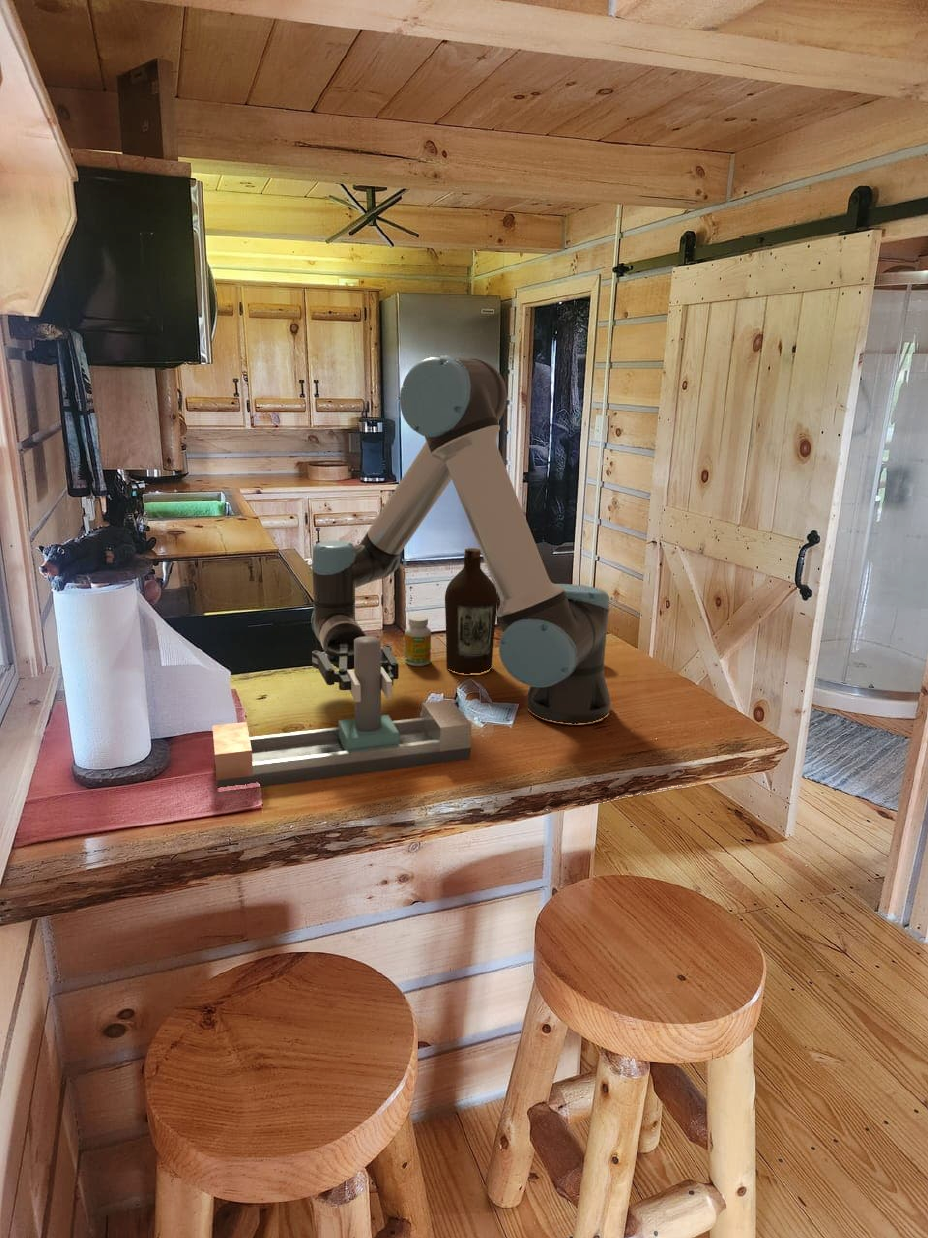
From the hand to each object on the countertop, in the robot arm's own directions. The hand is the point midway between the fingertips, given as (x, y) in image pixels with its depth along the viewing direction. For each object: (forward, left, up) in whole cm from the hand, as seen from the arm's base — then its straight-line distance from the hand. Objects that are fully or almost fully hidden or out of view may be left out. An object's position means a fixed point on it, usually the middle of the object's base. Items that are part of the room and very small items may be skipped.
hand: (373, 691), depth 116 cm
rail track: (+5, -2, -13) cm, 14 cm away
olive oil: (-10, -46, -13) cm, 49 cm away
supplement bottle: (+1, -48, -13) cm, 50 cm away
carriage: (+2, -4, -11) cm, 11 cm away
